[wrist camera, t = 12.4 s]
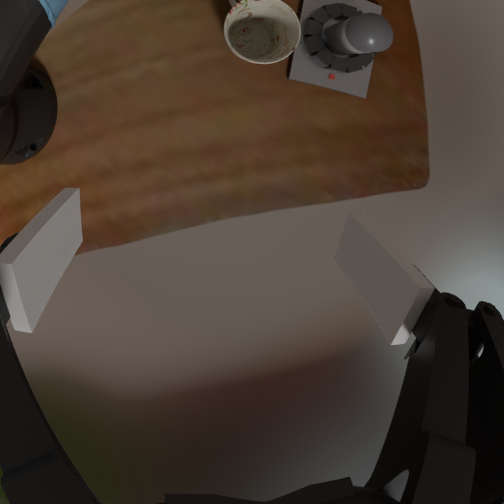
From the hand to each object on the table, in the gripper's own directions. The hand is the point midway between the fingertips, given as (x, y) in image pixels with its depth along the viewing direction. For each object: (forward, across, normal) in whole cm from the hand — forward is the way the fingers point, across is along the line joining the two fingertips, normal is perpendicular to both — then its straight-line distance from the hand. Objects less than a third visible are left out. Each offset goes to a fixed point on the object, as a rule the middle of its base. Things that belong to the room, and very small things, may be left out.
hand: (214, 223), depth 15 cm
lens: (+31, +16, +17) cm, 39 cm away
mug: (+32, +3, +15) cm, 35 cm away
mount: (+32, +16, +17) cm, 39 cm away
